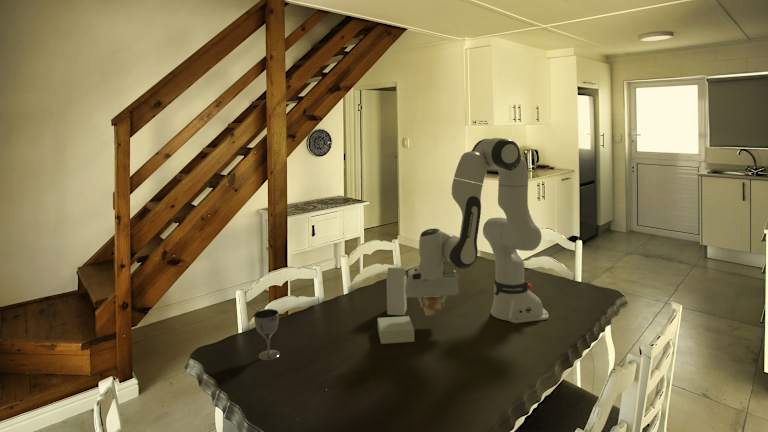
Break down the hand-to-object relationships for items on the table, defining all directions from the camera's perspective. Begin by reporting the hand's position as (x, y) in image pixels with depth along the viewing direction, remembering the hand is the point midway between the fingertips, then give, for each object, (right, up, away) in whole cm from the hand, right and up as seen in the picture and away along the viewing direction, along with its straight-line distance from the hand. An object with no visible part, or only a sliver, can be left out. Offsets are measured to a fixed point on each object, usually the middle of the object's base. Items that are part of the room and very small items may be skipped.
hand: (432, 306), depth 178 cm
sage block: (-14, -10, -6) cm, 18 cm away
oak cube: (0, -2, +1) cm, 2 cm away
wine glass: (-58, -13, -19) cm, 62 cm away
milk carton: (-13, -6, +16) cm, 21 cm away
